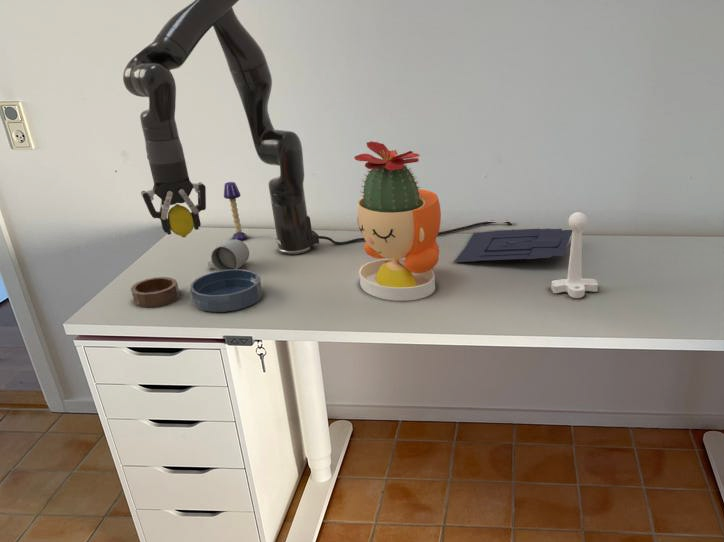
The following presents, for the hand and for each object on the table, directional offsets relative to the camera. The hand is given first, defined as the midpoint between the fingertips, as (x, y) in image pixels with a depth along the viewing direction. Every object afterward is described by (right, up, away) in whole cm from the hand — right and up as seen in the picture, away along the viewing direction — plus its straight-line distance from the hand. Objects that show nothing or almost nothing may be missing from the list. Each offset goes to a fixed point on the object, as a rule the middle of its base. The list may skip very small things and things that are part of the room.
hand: (182, 230), depth 167 cm
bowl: (+8, -15, +9) cm, 19 cm away
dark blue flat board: (+80, 0, +34) cm, 87 cm away
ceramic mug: (+2, -6, +26) cm, 27 cm away
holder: (-10, -15, +9) cm, 20 cm away
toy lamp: (-2, +6, +46) cm, 47 cm away
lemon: (0, -2, +1) cm, 2 cm away
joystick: (+93, -14, +10) cm, 95 cm away
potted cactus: (+50, -10, +17) cm, 54 cm away
